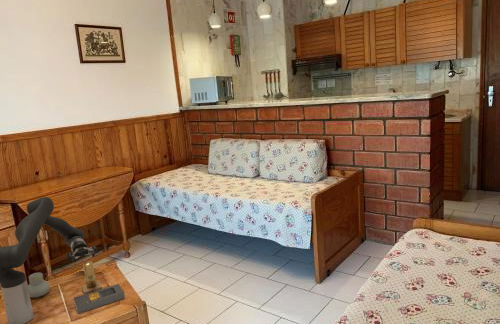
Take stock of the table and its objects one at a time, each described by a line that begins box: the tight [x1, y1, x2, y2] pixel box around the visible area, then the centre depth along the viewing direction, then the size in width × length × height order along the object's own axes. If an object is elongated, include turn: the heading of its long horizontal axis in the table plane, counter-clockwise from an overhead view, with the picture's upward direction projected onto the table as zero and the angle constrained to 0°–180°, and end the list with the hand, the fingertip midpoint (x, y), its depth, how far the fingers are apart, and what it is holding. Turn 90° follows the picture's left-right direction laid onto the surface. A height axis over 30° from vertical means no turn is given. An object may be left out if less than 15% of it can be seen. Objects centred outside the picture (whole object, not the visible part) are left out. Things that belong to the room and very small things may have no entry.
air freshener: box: [27, 271, 51, 298], centre depth 188 cm, size 11×8×10 cm
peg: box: [82, 260, 97, 289], centre depth 188 cm, size 4×4×12 cm
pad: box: [81, 280, 103, 295], centre depth 189 cm, size 8×8×2 cm
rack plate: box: [73, 283, 126, 315], centre depth 179 cm, size 20×10×3 cm, turn 121°
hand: (84, 257), depth 197 cm, fingers open, 8 cm apart
